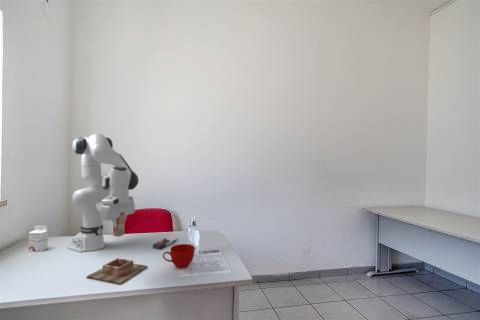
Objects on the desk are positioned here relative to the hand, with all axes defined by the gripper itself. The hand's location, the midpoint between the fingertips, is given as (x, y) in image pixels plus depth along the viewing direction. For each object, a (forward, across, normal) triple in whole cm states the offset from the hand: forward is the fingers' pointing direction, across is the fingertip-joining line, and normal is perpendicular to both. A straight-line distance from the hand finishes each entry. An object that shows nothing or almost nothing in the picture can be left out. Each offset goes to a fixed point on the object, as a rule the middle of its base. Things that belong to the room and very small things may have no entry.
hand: (119, 225), depth 134 cm
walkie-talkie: (+25, -45, -2) cm, 52 cm away
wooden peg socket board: (+24, 0, 0) cm, 24 cm away
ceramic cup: (+25, -17, +25) cm, 39 cm away
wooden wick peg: (+5, 0, 0) cm, 5 cm away
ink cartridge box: (+24, -9, -69) cm, 74 cm away
